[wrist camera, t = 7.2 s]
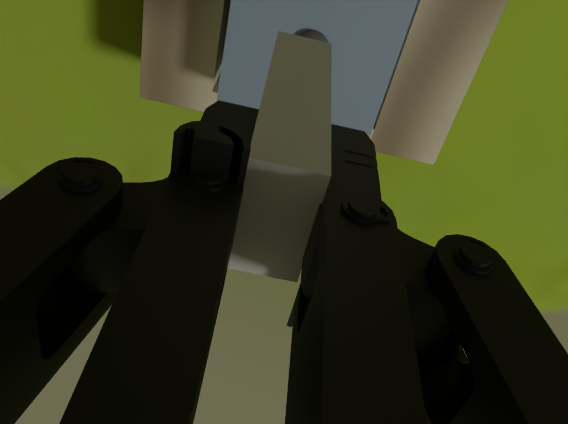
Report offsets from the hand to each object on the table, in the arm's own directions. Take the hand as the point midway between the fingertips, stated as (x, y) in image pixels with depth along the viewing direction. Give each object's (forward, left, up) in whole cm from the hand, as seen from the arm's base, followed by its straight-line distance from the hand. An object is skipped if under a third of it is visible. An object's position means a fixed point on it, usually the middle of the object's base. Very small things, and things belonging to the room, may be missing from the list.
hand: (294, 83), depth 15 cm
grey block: (0, 0, -8) cm, 8 cm away
